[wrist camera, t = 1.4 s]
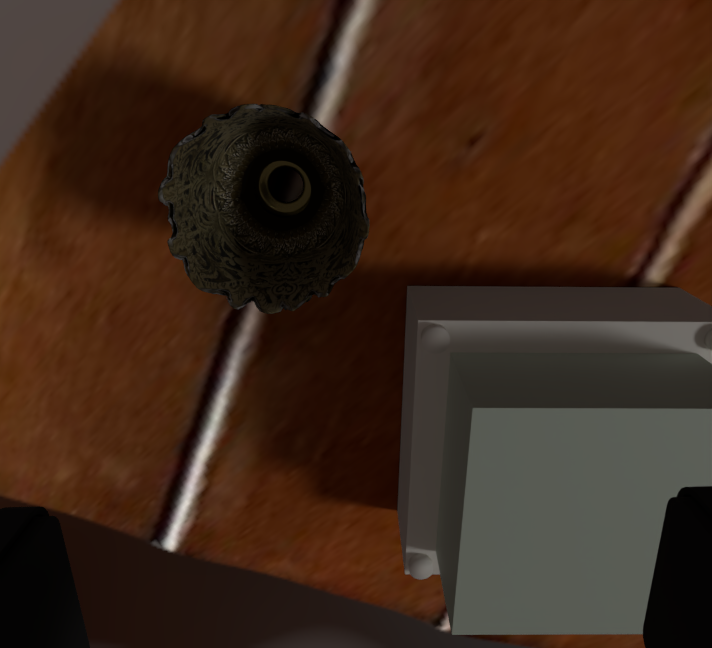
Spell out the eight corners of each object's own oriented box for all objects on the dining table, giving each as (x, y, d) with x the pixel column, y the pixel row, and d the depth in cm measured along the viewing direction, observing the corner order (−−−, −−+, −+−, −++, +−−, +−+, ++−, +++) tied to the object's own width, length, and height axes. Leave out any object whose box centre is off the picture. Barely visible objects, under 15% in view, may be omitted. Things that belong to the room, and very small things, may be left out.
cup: (366, 256, 30) (373, 310, 22) (220, 264, 30) (177, 320, 22) (359, 97, 27) (363, 97, 20) (198, 106, 27) (141, 110, 20)
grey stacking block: (407, 285, 30) (433, 370, 21) (679, 287, 31) (825, 372, 21) (397, 511, 35) (415, 660, 26) (631, 511, 36) (732, 659, 26)
